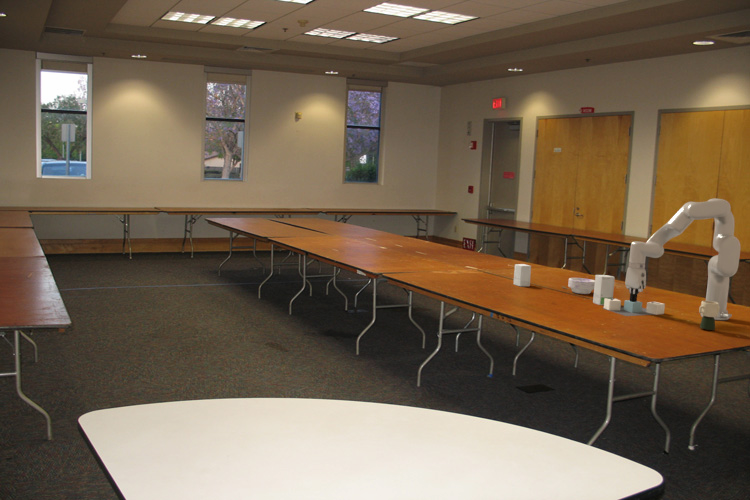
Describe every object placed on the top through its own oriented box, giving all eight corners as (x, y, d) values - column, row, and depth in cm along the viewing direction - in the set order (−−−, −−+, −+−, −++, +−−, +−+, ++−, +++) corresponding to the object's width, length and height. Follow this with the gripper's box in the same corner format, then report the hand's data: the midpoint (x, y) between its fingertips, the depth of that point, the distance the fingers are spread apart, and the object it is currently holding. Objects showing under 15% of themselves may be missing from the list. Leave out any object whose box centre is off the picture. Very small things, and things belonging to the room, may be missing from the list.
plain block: (641, 312, 335) (642, 302, 334) (632, 312, 333) (633, 302, 332) (632, 309, 340) (633, 300, 340) (623, 309, 338) (624, 300, 338)
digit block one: (663, 313, 333) (664, 303, 333) (656, 314, 330) (657, 304, 330) (653, 311, 338) (654, 301, 338) (646, 312, 335) (647, 302, 335)
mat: (663, 314, 333) (664, 313, 333) (626, 316, 324) (626, 316, 324) (637, 307, 349) (638, 306, 349) (601, 308, 341) (601, 308, 341)
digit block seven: (620, 310, 337) (621, 300, 336) (609, 310, 336) (609, 300, 335) (614, 307, 343) (615, 298, 342) (603, 307, 342) (604, 297, 341)
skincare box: (599, 305, 349) (601, 276, 347) (592, 303, 355) (594, 274, 353) (612, 305, 351) (615, 276, 349) (605, 302, 357) (608, 274, 355)
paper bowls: (591, 291, 391) (592, 278, 390) (597, 296, 376) (598, 282, 375) (565, 289, 393) (566, 276, 392) (570, 294, 378) (571, 280, 377)
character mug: (711, 327, 309) (714, 300, 307) (722, 331, 302) (725, 303, 300) (691, 328, 306) (694, 300, 304) (703, 332, 299) (706, 304, 297)
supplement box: (530, 286, 399) (531, 265, 397) (519, 286, 396) (521, 265, 395) (523, 284, 406) (524, 263, 404) (512, 284, 403) (514, 264, 401)
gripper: (653, 268, 328) (649, 304, 331) (631, 263, 342) (628, 298, 344) (641, 268, 325) (637, 304, 328) (620, 263, 339) (616, 298, 342)
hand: (633, 301), depth 336 cm, fingers closed
